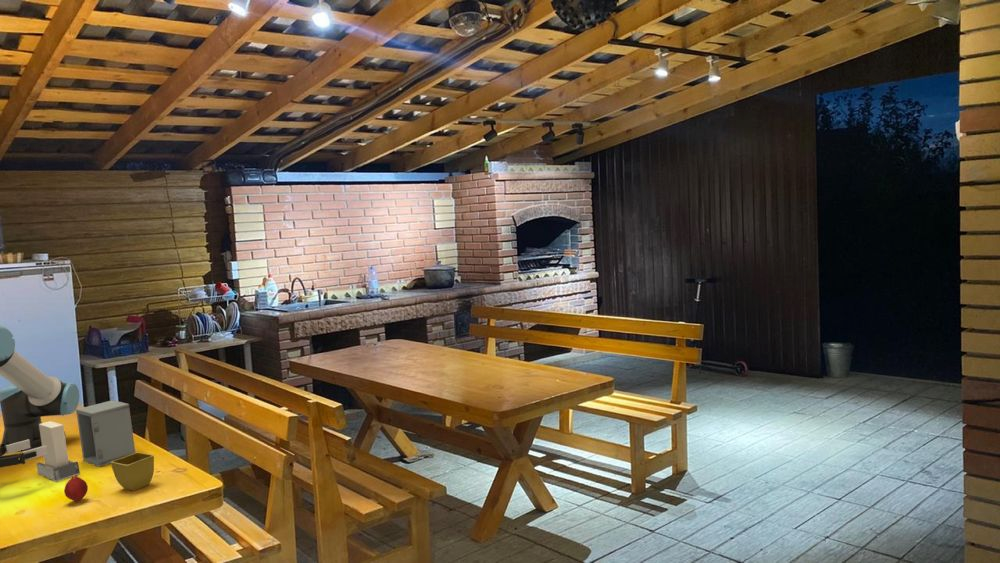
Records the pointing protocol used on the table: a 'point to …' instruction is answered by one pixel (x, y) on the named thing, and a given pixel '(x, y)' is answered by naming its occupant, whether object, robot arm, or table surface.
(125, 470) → the flower pot
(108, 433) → the cabinet
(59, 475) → the drawer
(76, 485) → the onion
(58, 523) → the table surface
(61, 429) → the door
